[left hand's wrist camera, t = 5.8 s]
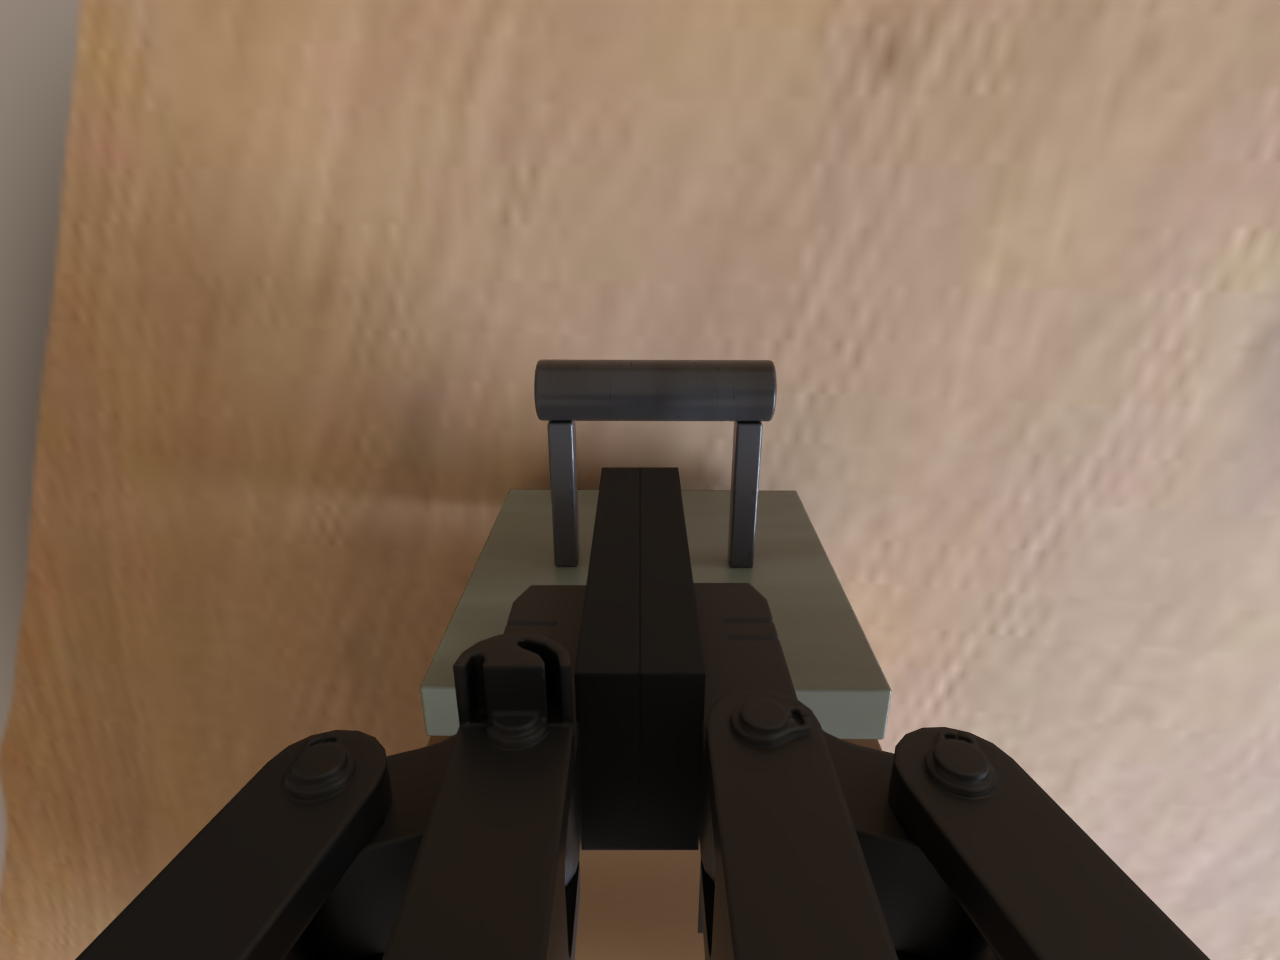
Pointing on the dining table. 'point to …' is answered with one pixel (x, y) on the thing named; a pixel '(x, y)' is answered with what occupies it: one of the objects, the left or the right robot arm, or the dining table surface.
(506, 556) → the drawer
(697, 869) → the cabinet
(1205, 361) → the dining table surface
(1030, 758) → the dining table surface
